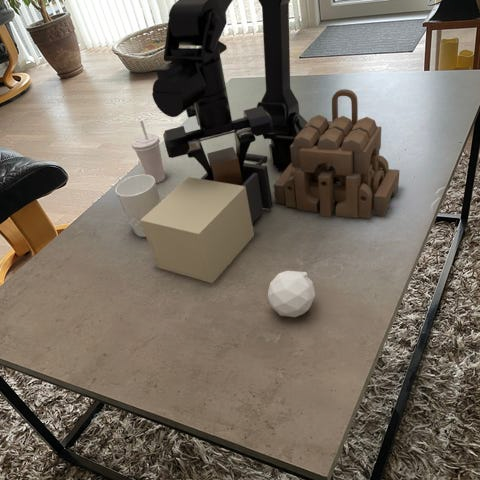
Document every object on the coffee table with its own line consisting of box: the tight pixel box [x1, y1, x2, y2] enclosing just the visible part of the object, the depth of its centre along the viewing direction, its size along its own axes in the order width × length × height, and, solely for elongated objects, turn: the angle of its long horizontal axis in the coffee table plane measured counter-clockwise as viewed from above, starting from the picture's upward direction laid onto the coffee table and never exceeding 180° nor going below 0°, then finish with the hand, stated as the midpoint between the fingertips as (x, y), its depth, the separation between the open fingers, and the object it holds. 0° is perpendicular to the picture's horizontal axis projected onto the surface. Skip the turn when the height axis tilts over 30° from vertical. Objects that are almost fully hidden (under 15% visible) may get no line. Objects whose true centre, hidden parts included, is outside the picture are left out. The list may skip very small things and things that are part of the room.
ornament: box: [267, 270, 316, 318], centre depth 74 cm, size 7×7×8 cm
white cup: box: [114, 173, 162, 238], centre depth 97 cm, size 8×8×10 cm
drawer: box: [200, 153, 274, 224], centre depth 94 cm, size 18×11×9 cm, turn 148°
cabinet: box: [140, 176, 255, 284], centre depth 88 cm, size 15×13×11 cm
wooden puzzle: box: [273, 88, 400, 220], centre depth 91 cm, size 22×15×19 cm, turn 63°
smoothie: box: [131, 120, 166, 184], centre depth 110 cm, size 6×6×14 cm
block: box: [206, 146, 243, 185], centre depth 90 cm, size 5×5×5 cm
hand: (226, 175), depth 91 cm, fingers closed on block, 5 cm apart
